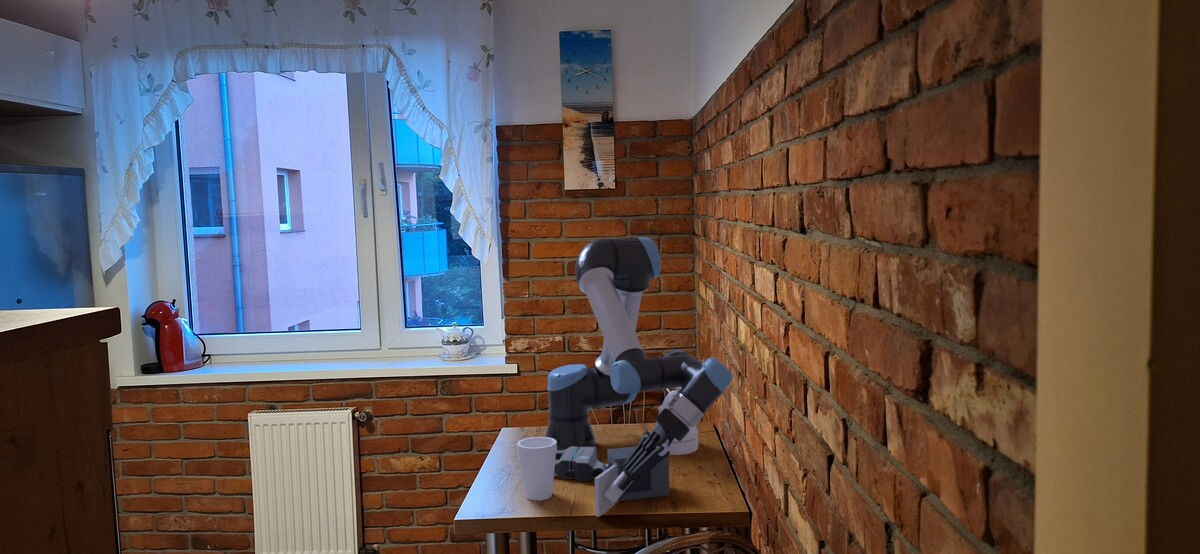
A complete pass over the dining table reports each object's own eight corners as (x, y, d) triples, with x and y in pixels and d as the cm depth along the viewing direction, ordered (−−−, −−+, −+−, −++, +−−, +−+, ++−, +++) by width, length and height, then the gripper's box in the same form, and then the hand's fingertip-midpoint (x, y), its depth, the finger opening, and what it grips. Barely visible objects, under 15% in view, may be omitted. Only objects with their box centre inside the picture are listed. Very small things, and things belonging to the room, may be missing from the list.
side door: (619, 501, 169) (618, 463, 169) (599, 517, 160) (598, 477, 159) (616, 500, 170) (614, 462, 169) (595, 517, 160) (594, 477, 160)
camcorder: (596, 459, 202) (595, 440, 202) (609, 484, 182) (608, 463, 181) (538, 464, 199) (537, 445, 199) (544, 490, 179) (543, 469, 179)
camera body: (601, 490, 177) (600, 446, 177) (659, 483, 180) (658, 441, 180) (609, 502, 169) (608, 456, 168) (669, 495, 172) (668, 450, 172)
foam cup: (534, 486, 181) (532, 435, 181) (565, 492, 177) (563, 439, 176) (511, 499, 173) (509, 445, 172) (543, 505, 169) (541, 450, 168)
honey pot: (706, 445, 211) (704, 384, 210) (684, 457, 200) (682, 393, 199) (667, 439, 218) (666, 379, 217) (644, 450, 208) (643, 388, 207)
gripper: (658, 400, 169) (590, 478, 167) (675, 414, 157) (602, 498, 154) (680, 420, 171) (614, 498, 168) (700, 436, 158) (628, 520, 156)
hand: (608, 498), depth 161 cm, fingers closed
